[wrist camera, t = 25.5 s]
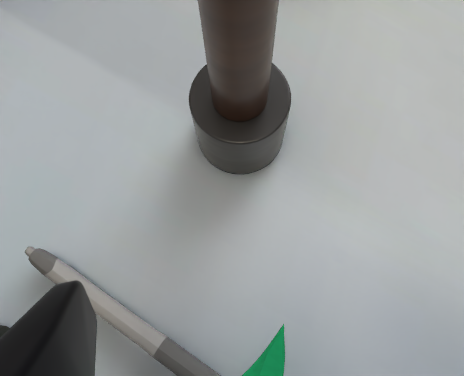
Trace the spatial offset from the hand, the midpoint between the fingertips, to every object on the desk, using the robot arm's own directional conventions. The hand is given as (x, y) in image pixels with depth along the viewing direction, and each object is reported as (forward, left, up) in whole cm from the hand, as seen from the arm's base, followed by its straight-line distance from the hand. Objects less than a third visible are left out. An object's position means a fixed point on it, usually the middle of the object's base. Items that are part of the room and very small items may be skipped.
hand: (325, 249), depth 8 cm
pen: (-3, +5, -13) cm, 14 cm away
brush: (+7, +3, -13) cm, 15 cm away
